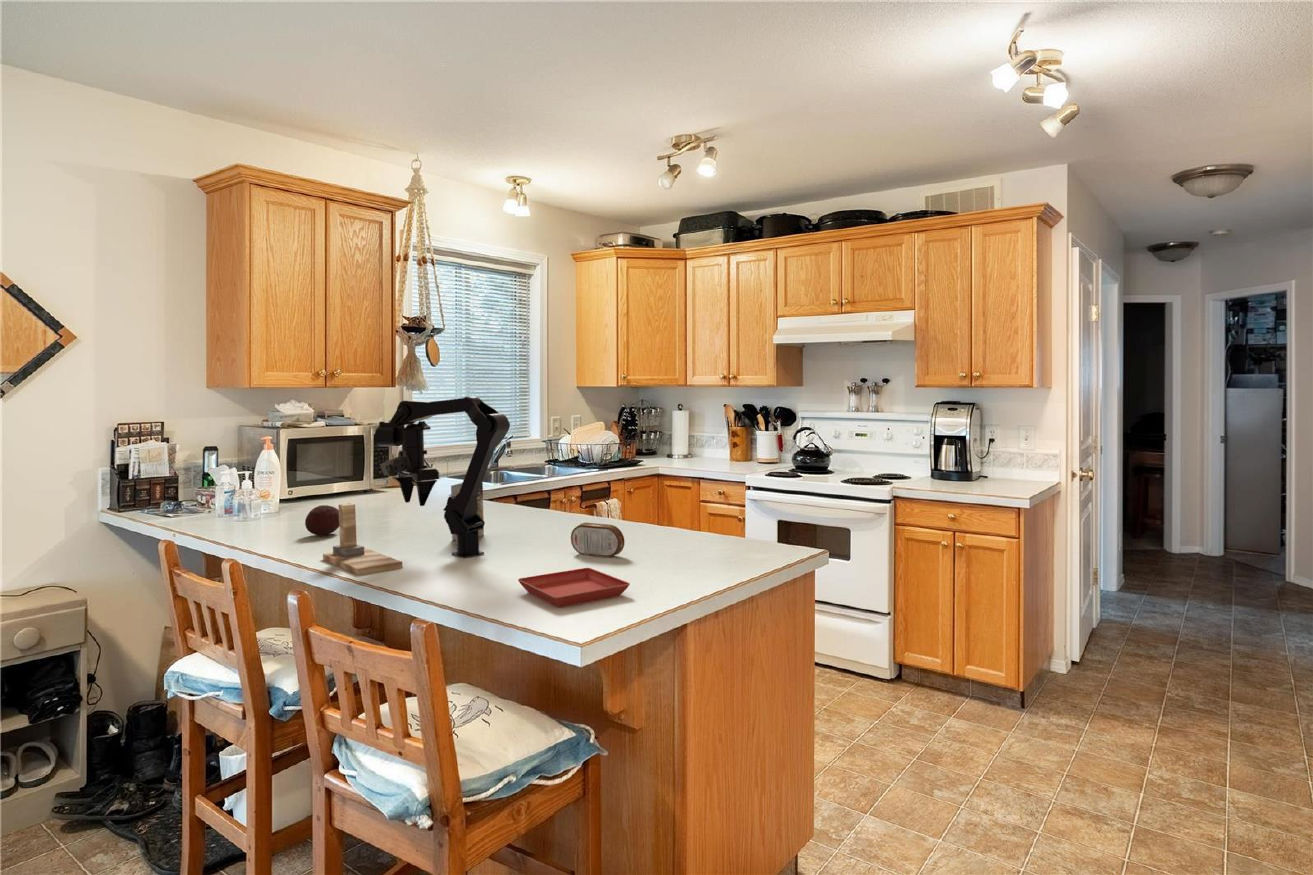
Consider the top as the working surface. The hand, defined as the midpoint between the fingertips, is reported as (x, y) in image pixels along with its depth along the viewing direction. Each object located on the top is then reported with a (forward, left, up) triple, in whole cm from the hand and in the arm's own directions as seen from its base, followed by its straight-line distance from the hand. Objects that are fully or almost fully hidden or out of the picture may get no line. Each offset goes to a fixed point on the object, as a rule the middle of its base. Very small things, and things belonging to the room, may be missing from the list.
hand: (414, 504), depth 212 cm
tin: (-39, -32, -13) cm, 52 cm away
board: (-4, +16, -13) cm, 21 cm away
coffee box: (+8, -20, -13) cm, 25 cm away
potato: (+43, +10, -13) cm, 46 cm away
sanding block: (+3, +17, -12) cm, 21 cm away
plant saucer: (-66, -5, -14) cm, 68 cm away
